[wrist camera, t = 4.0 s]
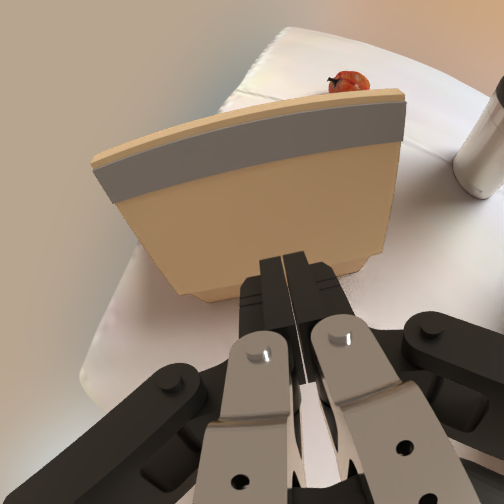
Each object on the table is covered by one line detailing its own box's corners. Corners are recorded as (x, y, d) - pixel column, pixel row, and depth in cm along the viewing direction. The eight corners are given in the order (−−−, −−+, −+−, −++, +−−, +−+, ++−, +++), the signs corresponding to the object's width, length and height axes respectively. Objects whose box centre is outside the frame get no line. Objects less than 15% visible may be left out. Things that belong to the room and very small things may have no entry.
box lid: (378, 245, 28) (382, 254, 27) (178, 287, 29) (178, 296, 28) (398, 88, 15) (407, 95, 15) (94, 155, 17) (88, 165, 16)
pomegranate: (357, 99, 49) (316, 71, 45) (385, 84, 42) (343, 51, 38) (355, 129, 48) (312, 101, 43) (386, 114, 41) (342, 81, 37)
